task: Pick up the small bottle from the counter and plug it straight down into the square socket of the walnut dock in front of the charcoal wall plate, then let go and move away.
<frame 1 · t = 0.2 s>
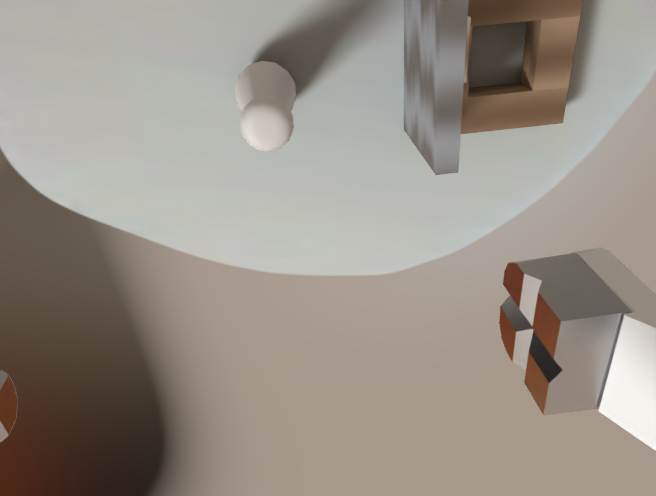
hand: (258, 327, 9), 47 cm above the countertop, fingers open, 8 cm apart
socket dock: (492, 53, 54), on the countertop
salt shaker: (265, 85, 54), on the countertop
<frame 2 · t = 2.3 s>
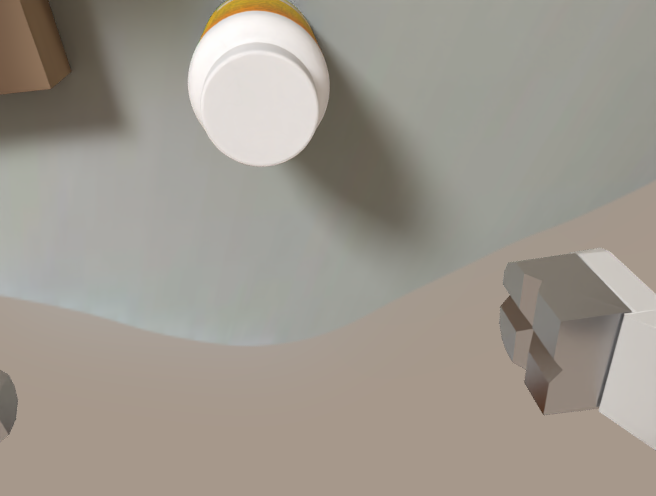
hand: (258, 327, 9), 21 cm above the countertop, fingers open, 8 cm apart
supplement bottle: (259, 49, 26), on the countertop
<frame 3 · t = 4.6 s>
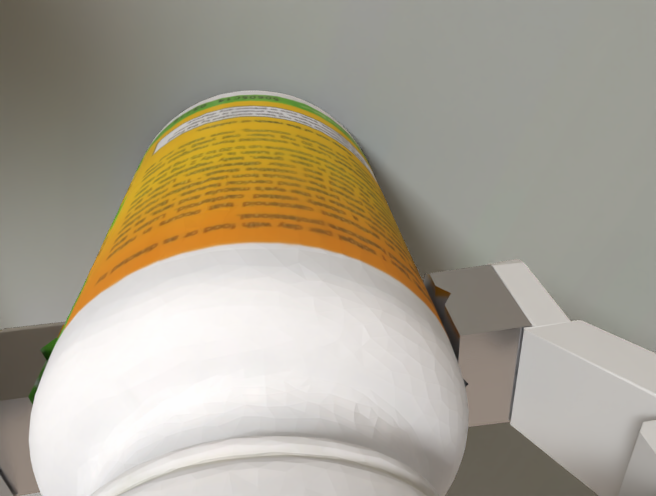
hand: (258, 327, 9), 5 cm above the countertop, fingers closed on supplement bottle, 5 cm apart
supplement bottle: (258, 197, 13), on the countertop, touching gripper
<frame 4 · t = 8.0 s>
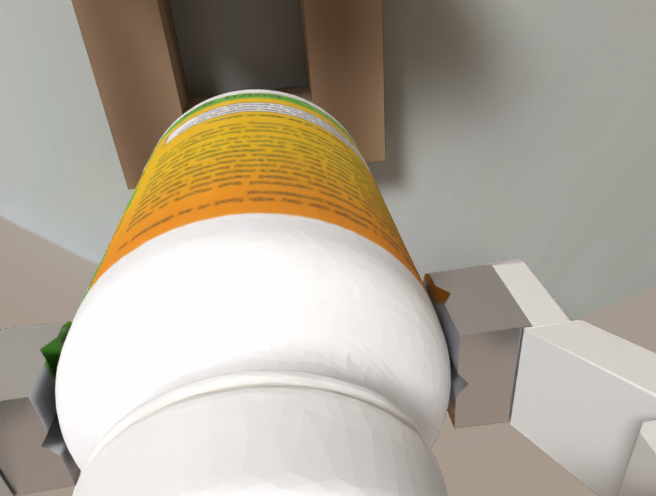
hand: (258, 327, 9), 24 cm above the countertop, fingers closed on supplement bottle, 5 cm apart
supplement bottle: (260, 191, 13), point 18 cm above the countertop, touching gripper
socket dock: (239, 28, 28), on the countertop
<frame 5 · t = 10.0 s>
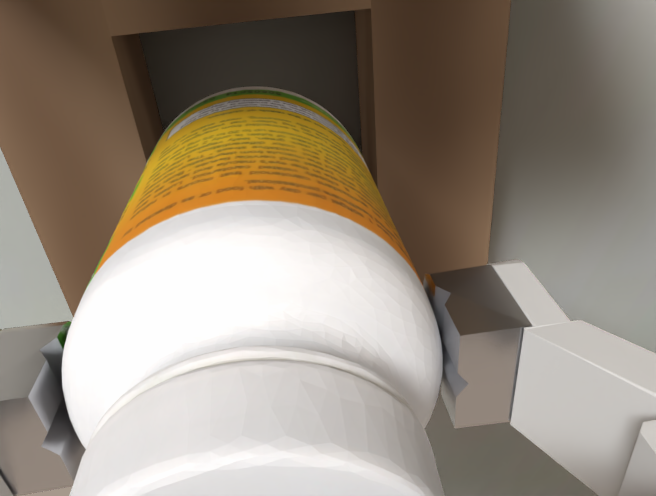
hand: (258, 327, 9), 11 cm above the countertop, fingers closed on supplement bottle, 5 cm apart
supplement bottle: (259, 186, 14), point 5 cm above the countertop, touching gripper
socket dock: (261, 112, 18), on the countertop
when the fingers open (6 cm above the countertop, at t = 11.5 s): supplement bottle stays where it is, resting in socket dock.
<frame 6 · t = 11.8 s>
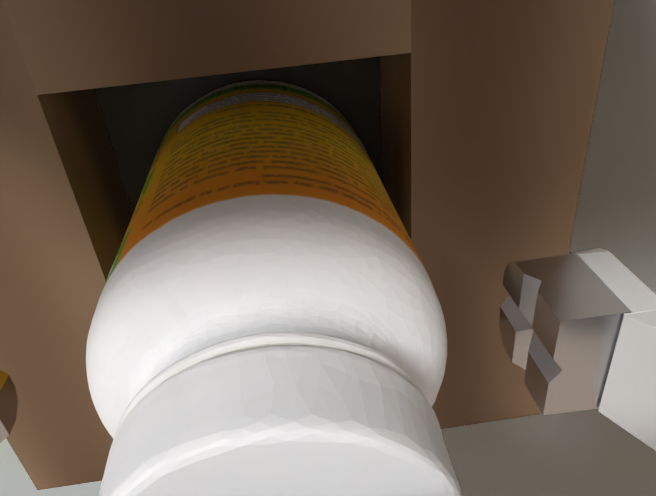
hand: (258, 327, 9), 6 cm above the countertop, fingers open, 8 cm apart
supplement bottle: (263, 178, 14), resting in socket dock
socket dock: (256, 176, 14), on the countertop
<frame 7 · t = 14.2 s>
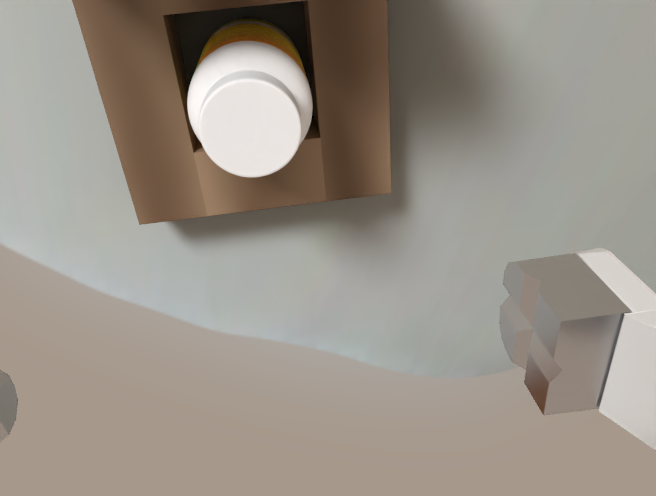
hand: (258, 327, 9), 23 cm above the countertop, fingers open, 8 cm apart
supplement bottle: (251, 69, 29), resting in socket dock
socket dock: (247, 67, 29), on the countertop
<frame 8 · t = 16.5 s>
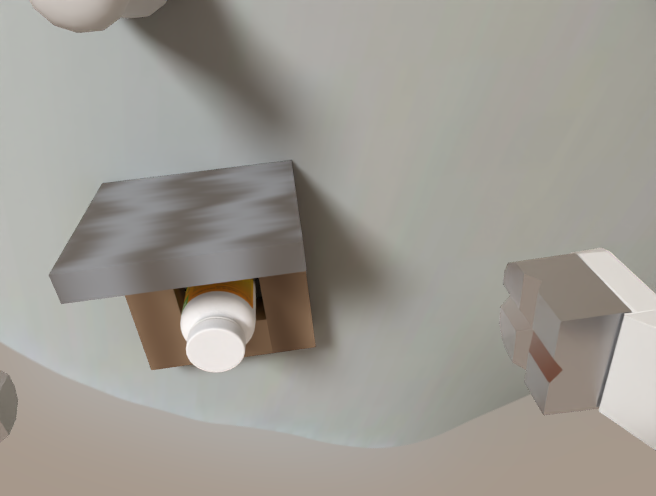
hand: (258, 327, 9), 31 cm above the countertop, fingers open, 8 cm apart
supplement bottle: (223, 271, 45), resting in socket dock
socket dock: (220, 271, 45), on the countertop
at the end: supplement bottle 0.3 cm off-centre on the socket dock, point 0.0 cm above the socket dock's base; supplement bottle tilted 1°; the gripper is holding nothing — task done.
